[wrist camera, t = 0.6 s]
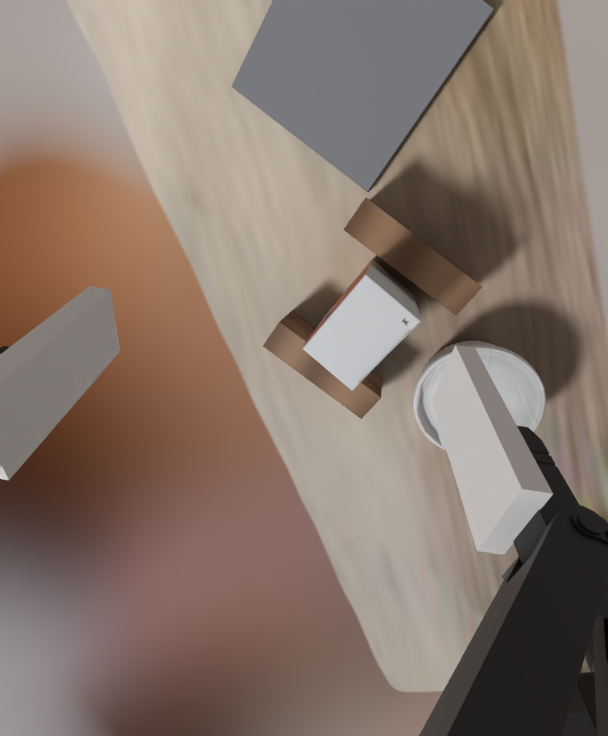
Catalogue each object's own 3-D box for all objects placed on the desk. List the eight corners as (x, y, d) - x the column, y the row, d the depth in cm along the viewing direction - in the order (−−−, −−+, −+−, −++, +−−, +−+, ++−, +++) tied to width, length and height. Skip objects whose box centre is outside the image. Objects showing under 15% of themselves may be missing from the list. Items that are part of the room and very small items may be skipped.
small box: (372, 257, 38) (366, 270, 28) (415, 295, 38) (424, 320, 29) (320, 318, 41) (299, 348, 31) (360, 353, 41) (352, 393, 32)
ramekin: (394, 355, 41) (394, 373, 36) (505, 312, 37) (522, 325, 32) (433, 444, 43) (439, 472, 39) (541, 411, 40) (562, 437, 35)
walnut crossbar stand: (470, 279, 37) (482, 287, 32) (364, 398, 43) (361, 418, 38) (368, 200, 36) (365, 197, 32) (276, 332, 42) (262, 346, 38)
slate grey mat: (490, 15, 30) (493, 8, 29) (368, 192, 36) (367, 191, 35) (334, -112, 29) (332, -123, 28) (235, 89, 35) (231, 86, 34)
